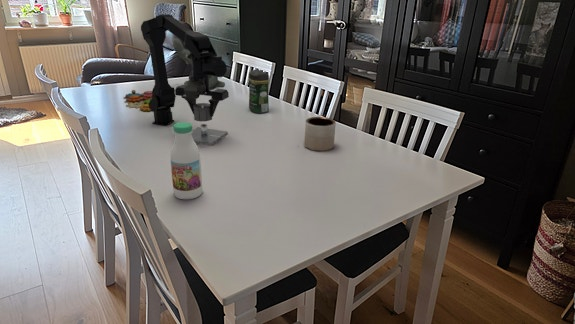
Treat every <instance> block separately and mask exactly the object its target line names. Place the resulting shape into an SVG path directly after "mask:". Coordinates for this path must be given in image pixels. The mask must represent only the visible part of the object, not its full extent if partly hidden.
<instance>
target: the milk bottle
mask: <svg viewBox="0 0 575 324" xmlns="http://www.w3.org/2000/svg"><path fill="white" fill-rule="evenodd" d="M172 127H173V133H174V142H173V144H172V147H171V149H170V155H169V156H170V168H171V169H170V170H171V178H172V179H171V180H172V189H173V195H174V196H175V197H176V198H177V199H181V200H193V199H195V198H199V197H200V196H201V195H202V194H203V175H202V162H201V153H200V149H199V147H198V144H197V143H195V142H194V140H193V137H192V130H193V125H192V123H190V122H187V121H181V122H177V123H174V124H173V126H172Z"/></svg>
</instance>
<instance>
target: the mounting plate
mask: <svg viewBox="0 0 575 324" xmlns="http://www.w3.org/2000/svg"><path fill="white" fill-rule="evenodd" d="M227 135H229V132H228V131H227V130H221V129H220V130H219V129H214V128H208V124H207V123H202V124H200V127H199V126H197V127H195V128H194V129H192V137H193V140H194V142H195V143H196V144H198V145H206V146H214V145H215V144H217V143H218V142H219V141H220V140H222V139H223V138H225V137H226V136H227Z"/></svg>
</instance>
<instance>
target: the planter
mask: <svg viewBox="0 0 575 324" xmlns="http://www.w3.org/2000/svg"><path fill="white" fill-rule="evenodd" d="M336 123H337V122H336V120H334V119H332V118H330V117H326V116H313V117H308V118H307V119H306V120H305V125H304V126H305V127H304V141H303V145H304V146H305V148H306V149H309V150H311V151H315V152H327V151H330V150H332V149H333V148H334V146H335V136H336Z"/></svg>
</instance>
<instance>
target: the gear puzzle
mask: <svg viewBox="0 0 575 324" xmlns="http://www.w3.org/2000/svg"><path fill="white" fill-rule="evenodd" d="M122 99H123V100H124V101H123V102H124V104H126V105H125V107H126V108H128V109H139V111H143V112H146V111H147V112H151V111H152V110H151V109H150V108H149V105H148V104H149V102H150V100H151V99H152V90H145V91H144V92H143V93H139V92H137V91H136V90H135V89H132V90H131V92H130V93H128V94H125V96H123V98H122Z"/></svg>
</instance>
